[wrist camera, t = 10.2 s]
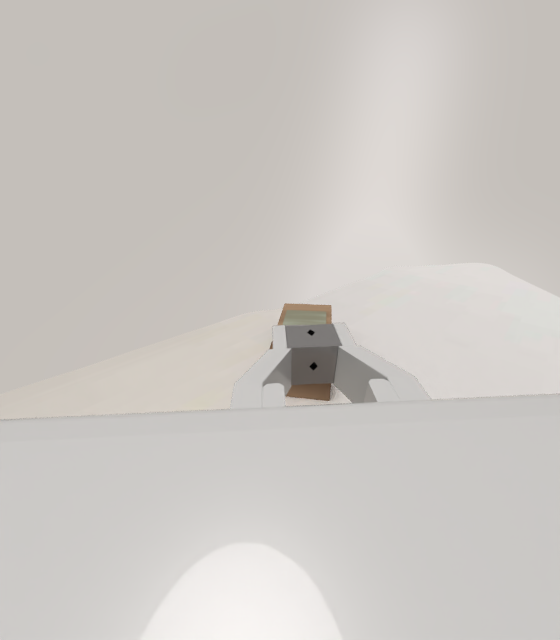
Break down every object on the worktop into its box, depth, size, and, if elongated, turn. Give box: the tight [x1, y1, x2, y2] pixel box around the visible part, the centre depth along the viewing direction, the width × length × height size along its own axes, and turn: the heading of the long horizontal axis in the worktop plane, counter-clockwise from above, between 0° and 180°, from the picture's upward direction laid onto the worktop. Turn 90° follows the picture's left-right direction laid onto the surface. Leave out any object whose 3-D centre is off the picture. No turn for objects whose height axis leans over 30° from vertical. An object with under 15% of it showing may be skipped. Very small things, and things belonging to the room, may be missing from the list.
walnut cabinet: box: [270, 304, 331, 401], centre depth 27 cm, size 4×6×12 cm
